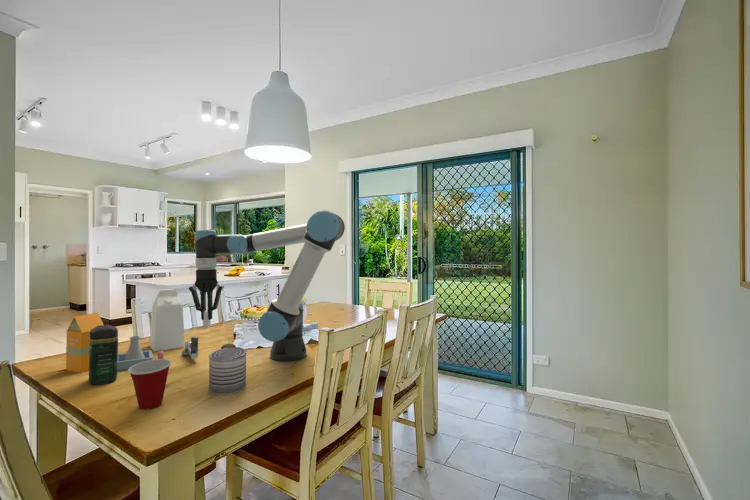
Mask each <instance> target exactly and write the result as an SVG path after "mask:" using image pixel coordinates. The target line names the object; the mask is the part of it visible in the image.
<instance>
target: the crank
mask: <svg viewBox="0 0 750 500" xmlns="http://www.w3.org/2000/svg"><path fill="white" fill-rule="evenodd" d="M184 350H185V351H187V352H188V354H189V355H190V356H189V357H190V358H191V359H192V360H193V359H196V358H197V359H198V358H199V336H191V337H190V340H188V341H184Z"/></svg>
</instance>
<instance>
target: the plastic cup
mask: <svg viewBox="0 0 750 500" xmlns="http://www.w3.org/2000/svg"><path fill="white" fill-rule="evenodd" d="M171 365H172V360H170V359H167V358H164V359H158V358H156V359H154V358H153V360H148V361H144V362H141V363H138V364H135V365H133V366H131V367H130V368H129V369H127V372H128V373H129V374H130V376H131V378H132V382H133V388H134V392H135V397H136V401H137V406H138V408H139V409H141V410H151V409H156V408H158V407H160V406H161V405H162V403H163V399H164V394H165V391H166V385H167V380H168V374H169V370H170V366H171Z"/></svg>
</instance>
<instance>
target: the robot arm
mask: <svg viewBox="0 0 750 500" xmlns="http://www.w3.org/2000/svg"><path fill="white" fill-rule="evenodd" d="M345 230H346V227H345V222H344V220H343V219H342V217H340V216H339V215H337V214H336V213H334V212H332V211H329V210H318V211H316V212H314V213H312V214H311V215H310V216H309V218H308V219H307V222H306V223H304V224H300V225H299V224H298V225H294V226H288V227H283V228H278V229H273V230H267V231H262V232H256V233H252V234H245V235H243V234H235V233H234V234H217V231H216V230H214V229H198V230H196V232H195V240H194V242H195V268H196V270H195V281H194V284H193V285H191V286H188V290H189V291H190V292H191V296H192V300H193V303H194V307H195V310H196V311H198V312H200V317H201V321H203V329H209V328H211V320H212V319H213V311H215V310H217V309H218V306H219V302H220V299H221V293H222V291H223V290H224V287H225V286H224V285H221V284H220V283H219V281H218V279H217V278H218V277H217V273H218V272H217V254H224V255H225V254H227V255H228V254H231V255H239V254H251V253H253V252H254V253H255V252H257V251H258V252H259V251H264V250H270V249H277V248H280V247H287V246H292V245H297V244H302V243H304V245H303V246H302V247H301V250H300V251H299V252H300V253H299V254H298V256H297V258H296V260H295V262H294V265H293V266H292V268H291V271H290V272H289V274H288V277H287V278H286V281H285V283H284V284H283V287H282V288H281V291H280V293H279V295H278V298H276V299H272V301H271V302H270V304H269V307H267V308H268V309H267V310H266V312H264V313H263V314H262V315H261V316H260V318H259V319H258V323H257V326H258V327H257V329H258V331H259V334H260V335H261V336H262V337H263V339H264V340H265V341H270V342H272V345H271V348H270V351H269V357H270V358H271V360H275V361H281V362H282V361H283V362H284V361H288V362H289V361H297V360H301V359H304V358H305V357H307V351H308V350H307V346H306V344H305V341H304V337H303V335H304V333H303V332H304V331H303V329H304V312H305V311H304V304H303V303H302V301H303V298H304V296H305V295H306V293H307V290H308V288H309V286H310V284H311V282H312V280H313V278H314V277H315V274H316V272H317V270H318V268H319V267H320V264H321V262H322V260H323V258H324V255H325V254H326V253H329V252H330V251H332V249H333V247H334V245H335V243H336V241H338V240H340V239H341V238H342V237H343V235H344V233H345ZM215 289H216V292H215V296H214V299H213V292H214V290H215ZM197 290H198V291H199V294H200V298H199V294H198V291H197ZM206 296H207V297H206ZM206 299H207V300H206Z"/></svg>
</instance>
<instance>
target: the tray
mask: <svg viewBox="0 0 750 500" xmlns="http://www.w3.org/2000/svg"><path fill="white" fill-rule="evenodd" d="M142 352H143V354H144V356H145V358H141V359H134V360H126V361H124V359H125V357H126V355H127V352H126V353H125V352H123V353H118V362H117V372H118V371H127V370H128V369H129V368H130V367H131V366H133V365H135V364H138V363H141V362H144V361H148V360H154V355H153V350H151V349H149V350H142Z"/></svg>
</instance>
